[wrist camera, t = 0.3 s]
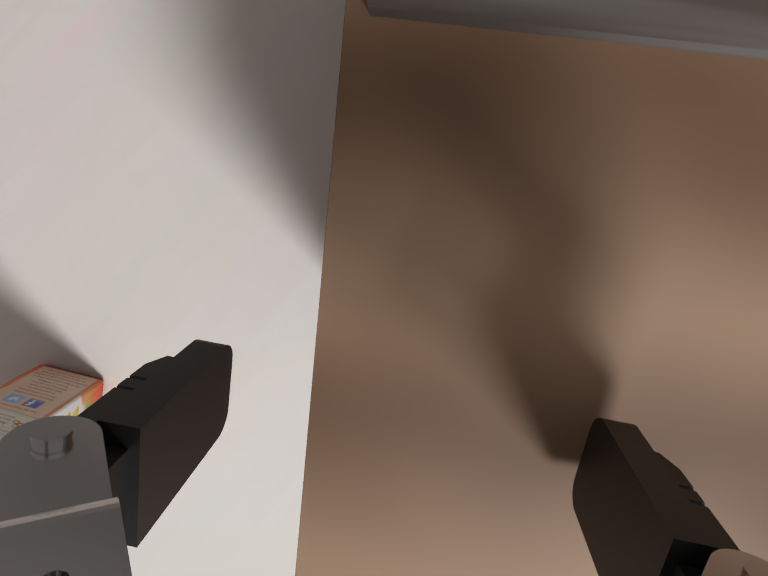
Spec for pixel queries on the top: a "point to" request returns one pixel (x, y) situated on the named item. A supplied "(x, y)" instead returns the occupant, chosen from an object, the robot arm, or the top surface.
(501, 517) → the cabinet
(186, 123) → the top surface
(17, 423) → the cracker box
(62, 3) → the top surface
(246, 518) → the top surface
